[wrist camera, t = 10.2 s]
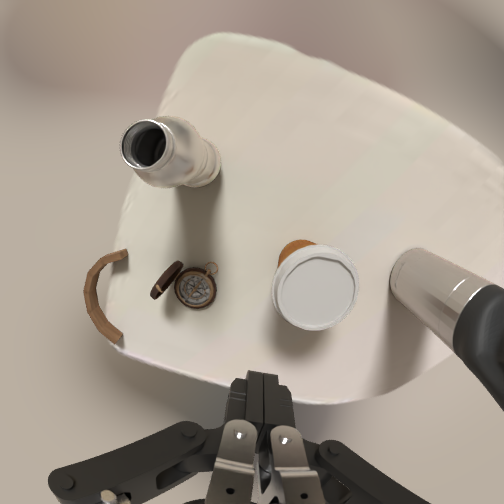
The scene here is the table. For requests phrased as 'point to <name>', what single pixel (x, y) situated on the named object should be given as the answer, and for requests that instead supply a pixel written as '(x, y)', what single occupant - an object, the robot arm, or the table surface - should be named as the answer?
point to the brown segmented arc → (92, 299)
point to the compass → (188, 285)
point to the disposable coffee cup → (314, 285)
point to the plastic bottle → (169, 153)
